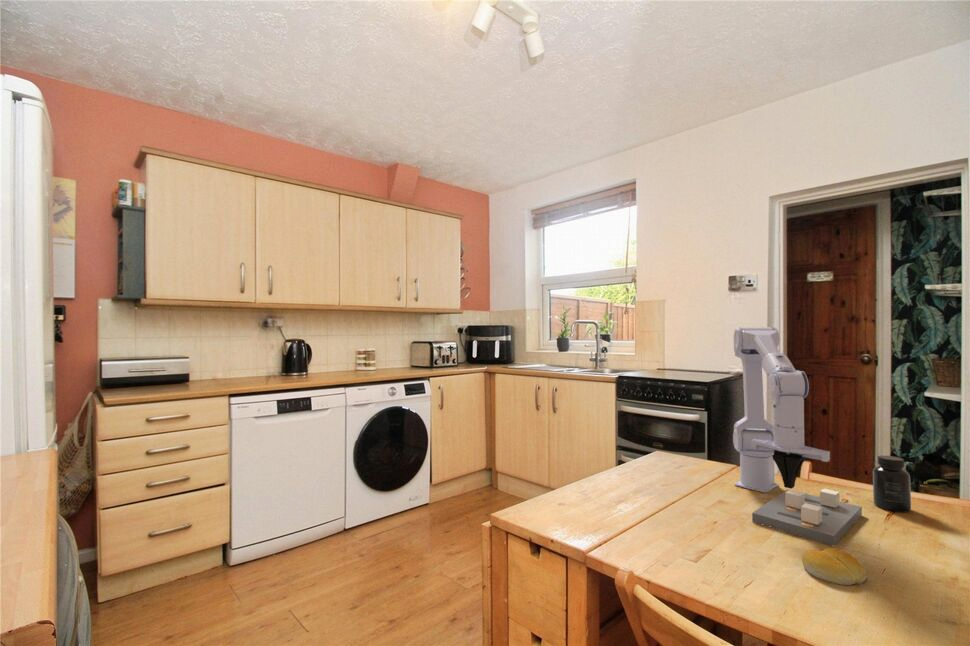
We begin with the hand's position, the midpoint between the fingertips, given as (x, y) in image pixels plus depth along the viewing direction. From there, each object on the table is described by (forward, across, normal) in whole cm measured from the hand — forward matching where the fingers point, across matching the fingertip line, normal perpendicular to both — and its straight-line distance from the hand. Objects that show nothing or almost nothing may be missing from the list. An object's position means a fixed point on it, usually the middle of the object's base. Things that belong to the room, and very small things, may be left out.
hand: (789, 486), depth 101 cm
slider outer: (+6, +4, 0) cm, 7 cm away
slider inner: (+6, +4, +14) cm, 16 cm away
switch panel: (+8, +2, +7) cm, 11 cm away
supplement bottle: (+9, +12, +30) cm, 34 cm away
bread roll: (+9, +12, -17) cm, 22 cm away
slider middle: (+6, -1, +7) cm, 9 cm away
